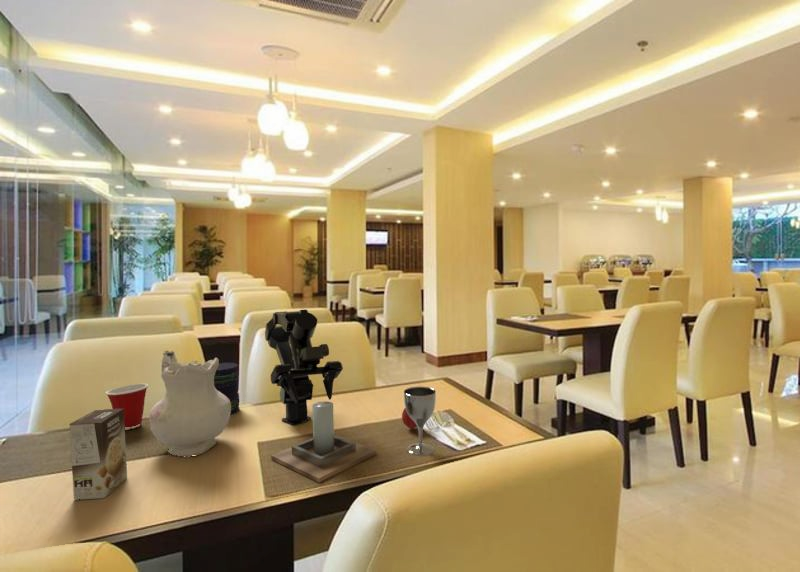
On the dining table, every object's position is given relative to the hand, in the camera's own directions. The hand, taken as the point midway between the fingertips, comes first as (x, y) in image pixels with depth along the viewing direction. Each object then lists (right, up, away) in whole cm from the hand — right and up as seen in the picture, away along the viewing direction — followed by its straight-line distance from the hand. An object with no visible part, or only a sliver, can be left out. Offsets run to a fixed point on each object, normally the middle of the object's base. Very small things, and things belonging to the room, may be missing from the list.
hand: (314, 400), depth 118 cm
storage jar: (-34, -11, +27) cm, 45 cm away
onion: (+26, -11, +9) cm, 30 cm away
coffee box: (-42, -14, -20) cm, 49 cm away
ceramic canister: (+4, -11, -7) cm, 14 cm away
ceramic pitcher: (-33, -12, +1) cm, 35 cm away
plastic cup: (-57, -12, +15) cm, 61 cm away
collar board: (+4, -12, -7) cm, 14 cm away
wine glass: (+28, -12, -4) cm, 30 cm away
